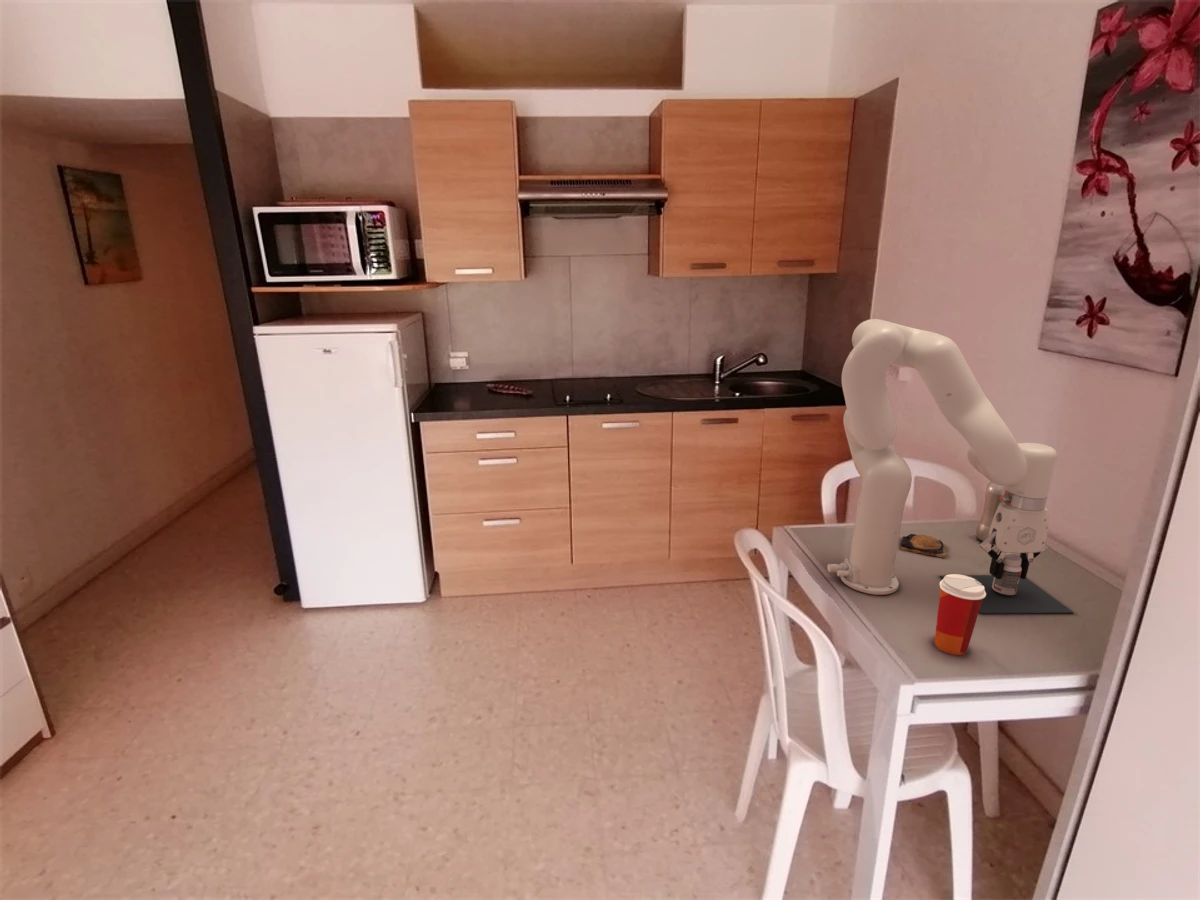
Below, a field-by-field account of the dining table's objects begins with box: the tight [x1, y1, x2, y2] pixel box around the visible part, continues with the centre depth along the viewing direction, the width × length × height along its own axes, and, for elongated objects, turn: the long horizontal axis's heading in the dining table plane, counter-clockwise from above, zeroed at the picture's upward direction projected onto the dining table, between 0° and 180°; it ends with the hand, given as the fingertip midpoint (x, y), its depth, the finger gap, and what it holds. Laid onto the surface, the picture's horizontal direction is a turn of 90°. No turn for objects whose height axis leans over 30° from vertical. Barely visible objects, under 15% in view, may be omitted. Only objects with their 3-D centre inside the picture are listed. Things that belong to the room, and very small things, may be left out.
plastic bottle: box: [975, 481, 1006, 542], centre depth 161 cm, size 6×7×20 cm
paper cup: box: [934, 573, 986, 656], centre depth 117 cm, size 8×8×14 cm
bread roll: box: [900, 533, 947, 559], centre depth 159 cm, size 11×8×4 cm
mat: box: [939, 574, 1074, 615], centre depth 138 cm, size 20×16×1 cm
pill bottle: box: [992, 553, 1022, 595], centre depth 137 cm, size 5×5×8 cm
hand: (1007, 575), depth 137 cm, fingers closed on pill bottle, 4 cm apart
